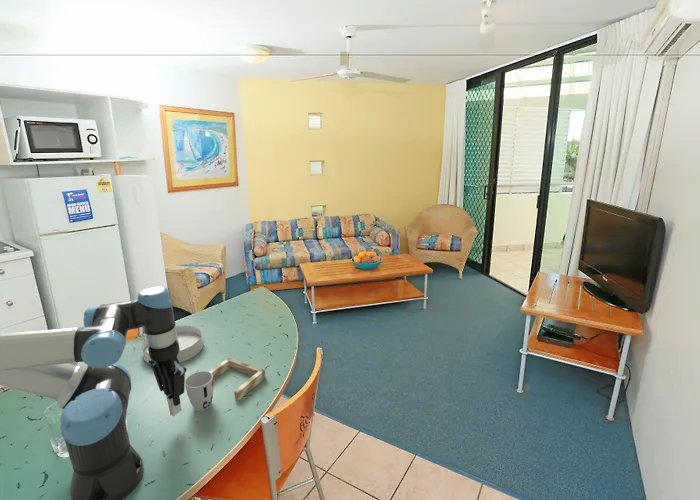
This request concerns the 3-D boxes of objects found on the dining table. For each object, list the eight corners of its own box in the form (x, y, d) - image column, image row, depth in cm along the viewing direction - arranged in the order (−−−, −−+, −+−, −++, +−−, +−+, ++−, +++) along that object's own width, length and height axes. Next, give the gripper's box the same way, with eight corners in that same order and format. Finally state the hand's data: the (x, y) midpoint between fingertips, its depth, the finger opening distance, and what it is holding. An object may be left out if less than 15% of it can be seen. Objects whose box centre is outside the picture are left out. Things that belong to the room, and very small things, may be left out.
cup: (207, 416, 113) (203, 389, 110) (183, 412, 114) (178, 385, 111) (220, 398, 120) (217, 372, 118) (198, 395, 122) (194, 369, 119)
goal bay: (238, 400, 120) (237, 392, 119) (201, 385, 127) (200, 377, 126) (265, 377, 131) (264, 369, 130) (229, 364, 139) (228, 357, 138)
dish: (166, 373, 134) (164, 361, 133) (131, 355, 145) (128, 344, 143) (215, 344, 152) (214, 333, 151) (180, 330, 163) (179, 320, 161)
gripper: (190, 341, 101) (201, 411, 108) (159, 330, 107) (171, 397, 114) (166, 355, 95) (180, 428, 102) (134, 342, 101) (149, 413, 108)
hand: (175, 412), depth 108 cm, fingers closed
